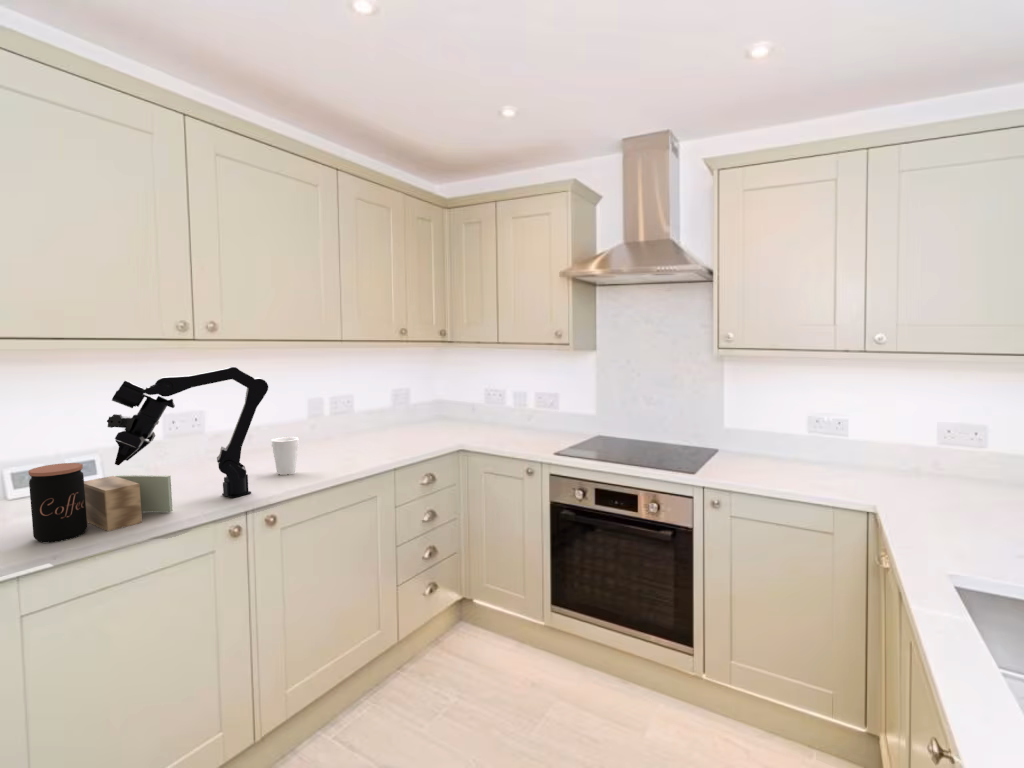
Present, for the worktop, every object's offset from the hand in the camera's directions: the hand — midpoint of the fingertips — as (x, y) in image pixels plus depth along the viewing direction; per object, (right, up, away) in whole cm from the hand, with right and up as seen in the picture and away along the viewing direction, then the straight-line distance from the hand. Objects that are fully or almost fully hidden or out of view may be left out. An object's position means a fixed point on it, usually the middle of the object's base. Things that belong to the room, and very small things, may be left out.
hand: (121, 462), depth 156 cm
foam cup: (+30, -11, +44) cm, 55 cm away
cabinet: (+4, -15, -9) cm, 18 cm away
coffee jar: (-1, -16, -20) cm, 26 cm away
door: (+8, -14, -1) cm, 16 cm away
